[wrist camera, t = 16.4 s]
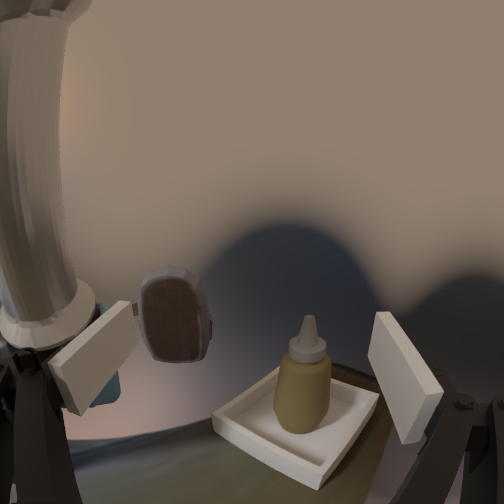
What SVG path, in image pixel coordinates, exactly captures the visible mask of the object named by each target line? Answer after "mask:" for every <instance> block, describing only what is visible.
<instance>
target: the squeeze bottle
mask: <svg viewBox="0 0 504 504" xmlns="http://www.w3.org/2000/svg"><path fill="white" fill-rule="evenodd" d="M325 352H326V343H325V341H324V340H323V339H322V338H320V337H318V336H317V329H316V323H315V317H314V316H313V315H306V316H305V318H304V322H303V325H302V328H301V331H300V334H299V336H296V337H294V338H292V339H291V340H290V342H289V351H288V352H286V353H285V354H284V355H283V356H282V358H281V362H280V368H279V374H278V379H277V385H276V390H275V396H274V401H273V410H274V412H275V414H276V416H277V419H278V421H279V423H280V425H281V426H282V428H283V429H284V430H286V431H287V432H289V433H293V434H306V433H309V432H312V431H313V430H314V429H315V428H317V426H318V425H319V424H320V422H321V421H322V420H323V418H324V417H325V416H326V414H327V412H328V409H329V403H330V384H331V360H330V357H329V356H328V355H327V354H326V353H325Z"/></svg>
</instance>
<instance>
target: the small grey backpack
mask: <svg viewBox="0 0 504 504" xmlns="http://www.w3.org/2000/svg"><path fill="white" fill-rule="evenodd" d="M137 304H138V312H139V319H140V320H139V325H140V329H141V334H142V338H143V340H144V343H145V344H146V346H147V348H148V350H149V352H150V353H151V355H152V357H153V358H154V359H155V360H157V361H161V362H168V363H191V362H195V361H200V360H202V359H203V358H204V357H205V355H206V351H207V348H208V344H209V341H210V340H211V339H212V323H213V321H212V315H211V314H210V313H209V311H208V303H207V296H206V294H205V292H204V290H203V287H202V285H201V283H200V279H199V278H197V277H196V276H195V275H193V274H192V273H191V272H189V271H188V270H187V269H183V268H178V267H174V266H166V267H161V268H158V269H154V270H152V271H151V272H150V273H149V274H148V275H147V276H146V277H145V278H144V279H143V280H142V281H141V288H140V292H139V298H138V303H137Z"/></svg>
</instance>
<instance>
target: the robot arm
mask: <svg viewBox="0 0 504 504" xmlns="http://www.w3.org/2000/svg"><path fill="white" fill-rule="evenodd" d="M90 4H91V0H0V299H1V301H2V304H3V305H2V308H1V310H0V504H9V501H10V493H11V486H12V483H14V484H16V491H17V503H11V504H83V503H82V500H81V496H80V493H79V490H78V486H77V483H76V479H75V475H74V471H73V467H72V462H71V458H70V453H69V448H68V443H67V438H66V432H65V426H64V419H63V412H62V410H61V408H67V410H68V412H71V413H73V414H76V415H79V416H82V415H83V413H84V412H85V411H86V410H87V408H88V407H90V408H93V407H95V406H96V405H102V404H109V403H113V402H115V401H116V400H117V399H118V398H119V396H120V392H121V391H120V383H119V376H118V369H119V368H120V366H121V365H122V364H123V363H124V361H125V360H126V359H127V358H128V356H129V355H130V354H131V353H132V351H133V350H134V349H135V348H136V346H137V345H138V339H137V334H136V328H135V323H134V317H133V311H132V305H131V302H128V301H118V302H117V303H116V304H115V305H114V306H112V307H111V306H110V305H108V304H103V303H98V304H96V300H95V296H94V293H93V291H92V289H91V288H90V287H89V286H88V285H87V284H86V283H85V282H83V281H81V280H79V279H77V278H76V276H75V271H74V267H73V262H72V257H71V252H70V246H69V240H68V234H67V228H66V221H65V213H64V206H63V196H62V186H61V172H60V152H59V111H60V109H59V108H60V90H61V79H62V68H63V60H64V52H65V45H66V39H67V33H68V28H69V26H70V25H71V24H72V23H73V22H74V21H76V20H77V19H78V18H79V17H81V16H82V15H83V14H84V13H85V12H87V11H88V9H89V7H90ZM368 359H369V361H370V363H371V366H372V368H373V371H374V373H375V375H376V378H377V380H378V383H379V385H380V388H381V390H382V393H383V395H384V398H385V400H386V403H387V405H388V408H389V411H390V413H391V416H392V419H393V421H394V424H395V427H396V429H397V432H398V435H399V437H400V440H401V443H402V445H405V444H410V443H415V442H419V440H420V438H421V437H422V435H423V433H425V435H426V437H427V440H426V442H425V444H424V445H423V447H422V449H421V450H420V452H419V453H418V457H417V459H416V461H415V463H414V464H413V466H412V468H411V470H410V471H409V473H408V475H407V477H406V478H405V480H404V482H403V483H402V485H401V486H400V489H399V490H398V491H397V493H396V494H395V496H394V497H393V499H392V500H391V502H390V503H389V504H444V502H445V499H446V497H447V495H448V493H449V491H450V488H451V486H452V484H453V481H454V479H455V476H456V474H457V471H458V468H459V466H460V463H461V460H462V457H463V454H464V451H465V458H464V472H463V482H462V491H461V498H460V504H504V394H497V395H495V396H494V398H493V399H492V401H491V403H490V404H476V402H475V400H474V399H473V398H472V397H471V396H469V395H467V394H463V393H458V392H457V391H456V389H455V388H454V386H453V385H452V383H451V382H450V381H449V379H448V378H447V376H445V373H444V372H443V370H441V368H440V366H439V365H438V363H437V362H436V361H435V360H433V359H432V358H430V357H429V356H425V357H421V355H420V354H419V353H418V351H417V350H416V348H415V347H414V345H413V344H412V343H411V341H410V340H409V338H408V337H407V335H406V334H405V332H404V331H403V330H402V328H401V327H400V326H399V324H398V323H397V322H396V320H395V319H394V317H393V316H392V314H391V313H390V312H376V317H375V322H374V328H373V332H372V337H371V342H370V347H369V351H368Z"/></svg>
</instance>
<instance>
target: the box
mask: <svg viewBox="0 0 504 504" xmlns="http://www.w3.org/2000/svg"><path fill="white" fill-rule="evenodd" d="M279 368H280V366H279V367H278V368H276V369H275V370H273V371H272V372H271V373H269V374H268V375H267V376H265V377H264V378H263V379H261V380H260V381H259V382H257V383H256V384H254V385H253V386H251V387H250V388H249V389H247V390H246V391H244V392H243V393H241V394H240V395H239V396H237V397H235V398H234V399H233V400H231V401H230V402H228V403H227V404H225V405H224V406H222V407H221V408H219V409H217V410H216V411H214V412H213V413H211V416H212V423H213V430H214V432H216V433H217V434H219V435H220V436H222V437H223V438H225V439H226V440H228V441H229V442H231V443H232V444H234V445H235V446H237V447H238V448H240V449H242V450H243V451H245V452H246V453H248V454H250V455H251V456H253V457H255V458H256V459H258V460H260V461H261V462H263V463H265V464H267V465H268V466H270V467H272V468H274V469H276V470H277V471H279V472H281V473H283V474H285V475H287V476H289V477H291V478H293V479H295V480H297V481H299V482H301V483H303V484H305V485H307V486H309V487H311V488H313V489H315V490H319V488H320V487H321V486H322V485H323V484H324V482H325V481H326V480H327V479H328V477H329V476H330V475H331V474H332V472H333V471H334V470H335V468H336V467H337V466H338V464H339V463H340V462H341V460H342V459H343V458H344V456H345V455H346V454H347V452H348V451H349V449H350V448H351V446H352V445H353V444H354V442H355V441H356V439H357V438H358V436H359V435H360V433H361V432H362V430H363V429H364V427H365V426H366V424H367V422H368V421H369V419H370V418H371V416H372V414H373V413H374V410H375V407H376V404H377V401H378V398H379V394H377V393H374V392H371V391H368V390H364V389H361V388H358V387H355V386H352V385H349V384H346V383H343V382H340V381H338V380H335V379H332V378H331V384H330V403H329V409H328V412H327V414H326V416H325V417H324V418H323V420H322V421H321V422H320V424H319V425H318V426H317V428H315V429H314V430H313V431H312V432H309V433H306V434H293V433H289V432H287V431H286V430H284V429H283V428H282V426H281V425H280V423H279V421H278V419H277V416H276V414H275V412H274V410H273V401H274V396H275V390H276V385H277V379H278V374H279Z"/></svg>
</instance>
